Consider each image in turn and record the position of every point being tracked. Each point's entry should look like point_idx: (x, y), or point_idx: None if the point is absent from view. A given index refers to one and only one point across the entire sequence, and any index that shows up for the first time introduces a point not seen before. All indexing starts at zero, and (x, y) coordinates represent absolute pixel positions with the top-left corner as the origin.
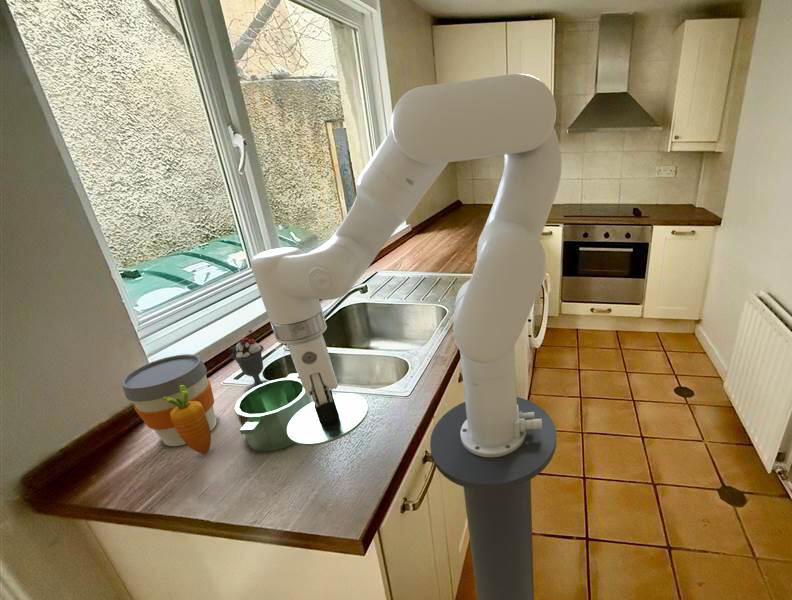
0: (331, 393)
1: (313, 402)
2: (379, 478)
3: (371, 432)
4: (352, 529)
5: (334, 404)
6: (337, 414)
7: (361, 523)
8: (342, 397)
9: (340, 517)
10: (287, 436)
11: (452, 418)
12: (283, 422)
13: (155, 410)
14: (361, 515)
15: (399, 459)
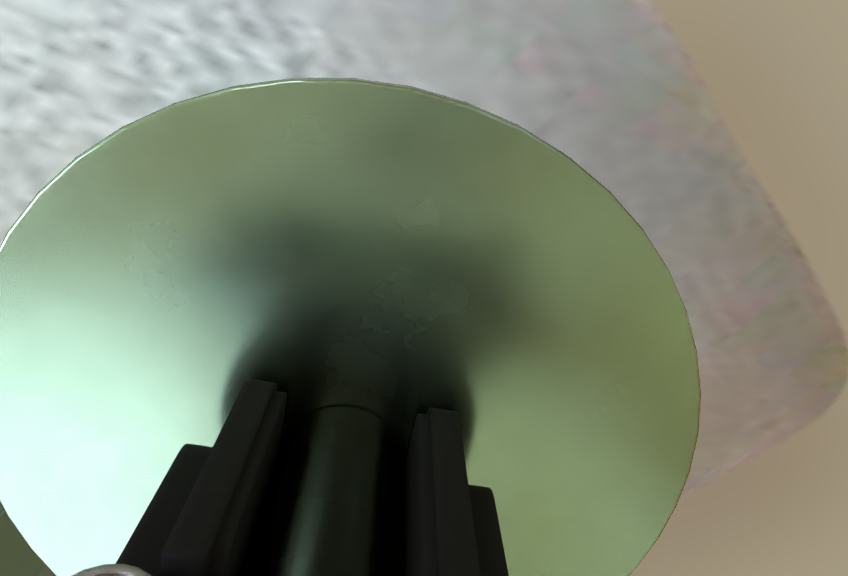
0: (212, 524)
1: (6, 488)
2: (696, 196)
3: (307, 60)
4: (827, 388)
5: (474, 544)
6: (459, 441)
7: (836, 355)
8: (98, 264)
9: (735, 403)
10: None
11: None
12: (24, 565)
13: None
14: (804, 341)
15: (673, 40)
